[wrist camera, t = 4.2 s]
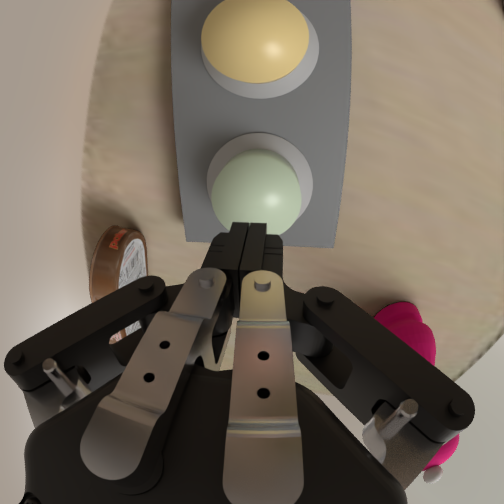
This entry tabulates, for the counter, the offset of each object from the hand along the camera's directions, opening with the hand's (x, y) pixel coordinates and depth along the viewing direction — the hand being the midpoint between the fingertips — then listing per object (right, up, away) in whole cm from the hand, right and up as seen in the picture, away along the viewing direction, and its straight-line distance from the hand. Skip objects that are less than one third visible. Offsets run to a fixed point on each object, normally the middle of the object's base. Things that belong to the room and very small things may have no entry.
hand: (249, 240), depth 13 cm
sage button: (+1, +4, +7) cm, 8 cm away
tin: (-12, -3, +16) cm, 21 cm away
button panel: (+1, +14, +4) cm, 15 cm away
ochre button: (0, +12, 0) cm, 12 cm away
